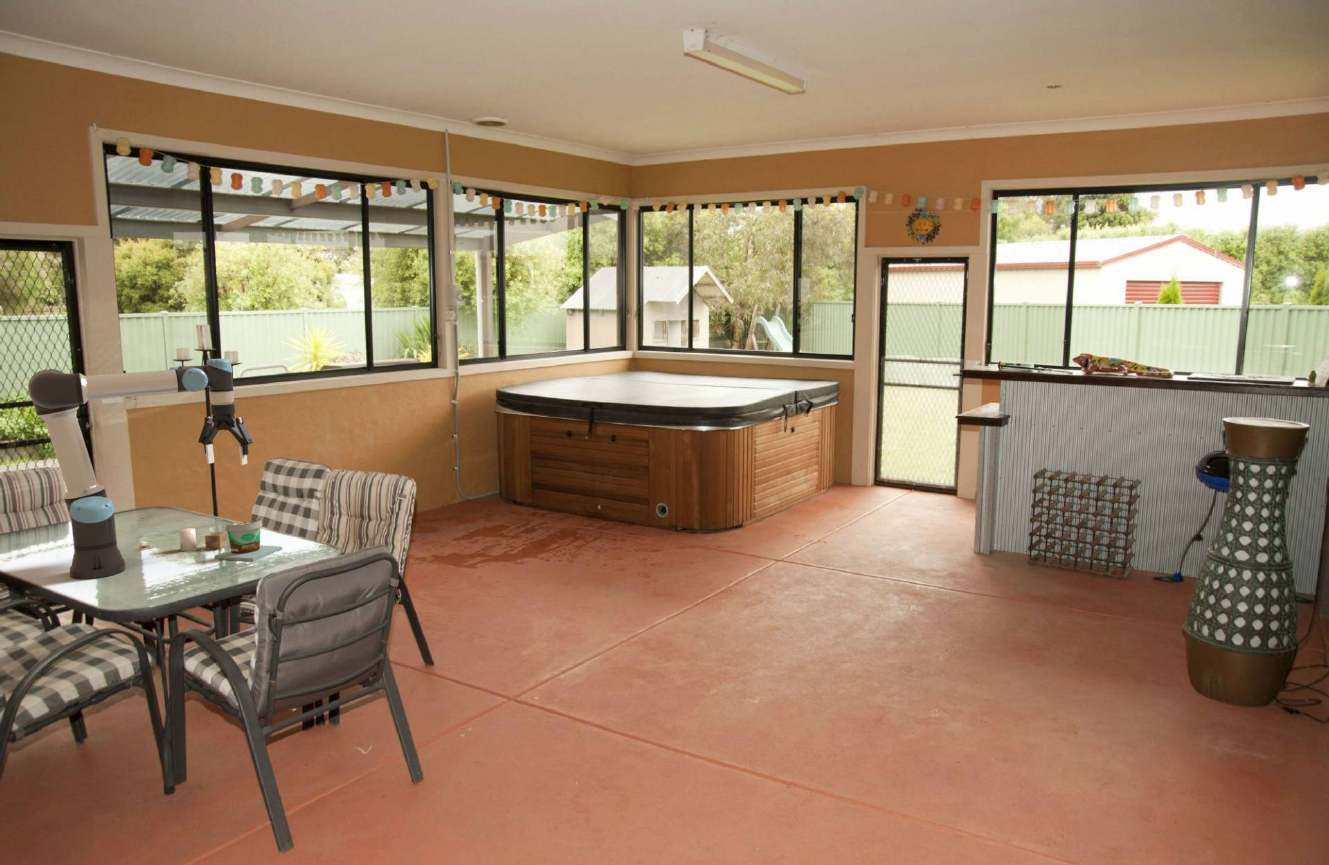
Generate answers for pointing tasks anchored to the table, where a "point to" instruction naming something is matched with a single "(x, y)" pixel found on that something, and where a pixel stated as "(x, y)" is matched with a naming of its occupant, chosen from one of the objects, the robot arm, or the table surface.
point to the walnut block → (216, 540)
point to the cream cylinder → (187, 539)
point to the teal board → (249, 554)
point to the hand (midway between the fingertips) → (227, 463)
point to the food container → (244, 537)
